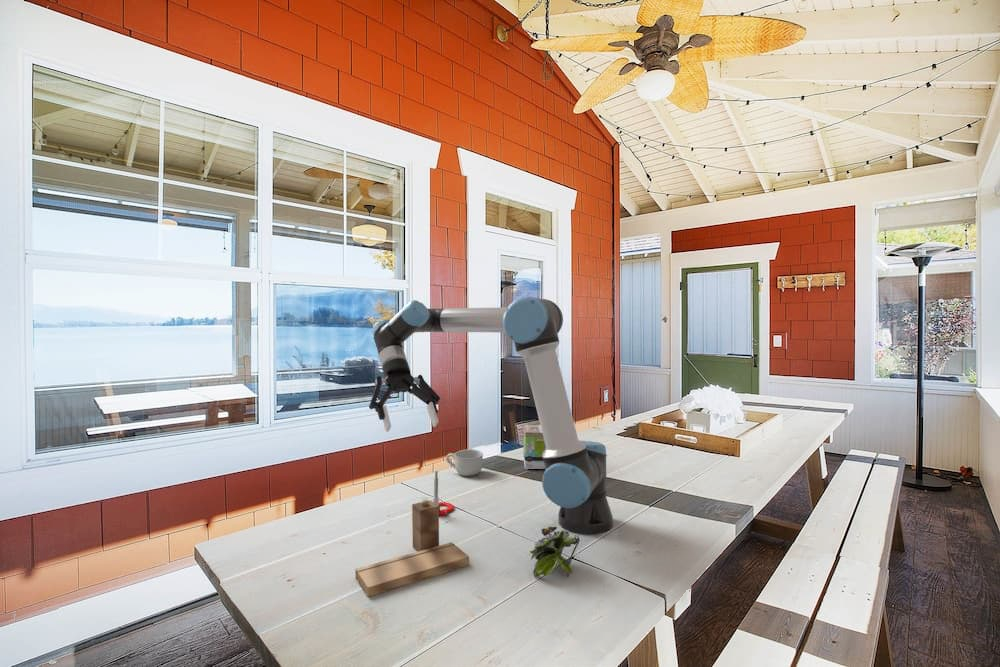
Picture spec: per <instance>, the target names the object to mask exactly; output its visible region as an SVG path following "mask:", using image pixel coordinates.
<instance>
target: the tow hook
mask: <svg viewBox="0 0 1000 667" xmlns="http://www.w3.org/2000/svg"><path fill="white" fill-rule="evenodd" d="M438 473H439V471H437V470H436V471H434V479H433V481H434V483H433V486H434V487H433V498H432V500H433V501H432V502H433V503H435V504H436V505H438V506H439V516H447V515H448V513H451V512H453V510H454V508H455V507H454V504H453V503H450V502H447V501H445V502H444V501H440V500H439V498H440V497H439V477H438ZM446 506H447V507H446ZM441 507H446V508H443V509H442V508H441Z"/></svg>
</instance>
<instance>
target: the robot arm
mask: <svg viewBox="0 0 1000 667" xmlns="http://www.w3.org/2000/svg"><path fill="white" fill-rule="evenodd" d="M563 324H564V316H563V312H562V310H561V309H560V307H559V306H558V305H557V304H556V303H555V302H554V301H552V300H549V299H546V298H538V297H534V296H527V297H520V298H517V299H516V300H513V302H511V303H510V304H509V305H508V306H507V307H461V308H460V307H458V308H457V307H456V308H455V307H451V308H450V307H449V308H428V307H427V306H426V305H425V304H424V303H423V302H420V301H419V300H416V299H414V300H413V299H412V300H411V301H410V302H408V303H407V304H405V305H404V306H403V307H402V309H400V311H398V313H396V314H395V315H394V316H393V317H392V318H391V319H389V318H385V319H382V320H380V321H377V322H376V323H375V324H374V325H373V326H372V335H373V341H374V343H375V347H376V349H377V353H378V357H379V361H380V366H381V368H382V373H383V376H384V378H382V376H379V375H378V376H377V377H376V379H375V381H374V385H375V386H374V388H375V389H374V390H373V395H372V397H371V398H370V399H371V400H370V403H369V406H368V408H369V410H373V409H374V410H375V412H376V413H377V415H378V419H379V421H382V423H383V426H384V430H385V432H386V433H388V432H389V431H390V430H391V427H392V423H391V420H390V415H389V412H388V408H387V405H385V404H386V402H387V401H388V399H389V398H390V396H391V395H392V394H393V392H395V393H397V394H398V393H409V394H411V395H414V396H415V397H416V398H418V399H419V400H420V401H421V402H423V403H424V404H426V405H427V406H426V410H427V413H428V415H429V418H430V421H431V425H432V427H433V428H436V426H437V425H438V424H439V422H440V421H439V418H438V415H437V414H438V413H439V412H438V411H439V410H438V408H437V405H438V404H439V402H440V400H441V397H440V396H439V394H438V393H436V391H435V390H434V389H433V388H432V387H431V386H430V385H429V384H428V382H426V381H425V379H424V377H423V374H418V376H415V377H414V376H413V375H412V373H411V369H410V366H409V362H408V359H407V357H406V353H405V350H404V346H403V343H404V342H406V340H408V339H409V338H410V337H411V336H412V335H413V334H415V333H503V334H504V333H505V335H506V336H507V337H508V338H509V339H510V340H511V341H513V344H514V347H515V348H514V349H515V353H516V354H517V355H519V356H520V357H522V359H523V360H524V361H523V362H524V364H525V368H526V372H527V375H528V376H527V377H528V380H529V386H530V388H531V392H532V396H533V397H532V398H533V401H534V405H535V408H536V412H537V417H538V422H539V425H540V426H541V430H542V434H543V438H544V442H545V446H546V449H545V451H544V452H543V454H542V458H543V462H544V466H545V470H544V473H543V475H542V478H541V479H542V480H541V483H542V488H543V489H542V490H543V492H544V494H545V495H546V497H547V498H548V499H549V500H550V502H551V503H554V504H555V505H556V506H558V507H560V508H559V510H558V516H557V517H558V519H557V520H558V521H559V522H558V524H559V526H560V525H561V527H562V529H565V530H566V529H567V530H566V531H570V532H572V533H576V532H577V533H576V534H584V535H597V534H602V533H605V532H607V531H610V530H611V529H612V528H613V526H614V525H613V524H614V522H613V519H614V517H613V514H612V511H611V508H610V505H609V501H608V498H607V456H608V454H607V450H606V449H607V448H606V445H604V444H603V443H602V442H597V441H591V440H579V437H578V433H577V431H576V430H577V429H576V426H575V422H574V418H573V414H572V409H571V406H570V403H569V402H570V401H569V398H568V395H567V390H566V385H565V382H564V378H563V375H562V370H561V367H560V363H559V359H558V354H557V349H558V347H559V345H560V339H559V333H560V331H561V329H562V327H563ZM383 385H386V387H388V388H387V389H386V391H385V393H384V394H383V396H381V398H380V399H379V401H378V402H377V400H378V396H379V393H380V391H381V389H382V388H381V387H383Z"/></svg>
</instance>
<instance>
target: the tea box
mask: <svg viewBox="0 0 1000 667" xmlns="http://www.w3.org/2000/svg"><path fill="white" fill-rule="evenodd" d="M545 449H546V446H545V442H544V438H543V434H542V430H541V426H540V424H524V425H523V464H524V465H523V466H524V469H525V470H528V469H544V468H545V466H544V462H543V458H542V454H543V452H544V451H545Z"/></svg>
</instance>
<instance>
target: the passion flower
mask: <svg viewBox="0 0 1000 667" xmlns="http://www.w3.org/2000/svg"><path fill="white" fill-rule="evenodd" d="M557 528H558V527H557V526H548V527H547V528H546V527H545V528H541V534H542V535H543V536H544V537H541V539H538V542H535V543H534V549H531V550H529V551H528V552H529V553H530V554H531V560H533V559H535V560H537V561H536V563H535V565H534V568H533V571H532V573H533V576H534V578H536V577H540V576H545V577H546V576H549V575H550V574H552V573H553V572H554V571H555V570H556V569H557V568H558V566H560V567H561V568H563V571H566V572H567V577H568V576H569V575H570V574H572V573H573V570H572V568H571V564H572V562H573V561H572V560H573V556H574V554H575V551H576V550H577V547H578V545H579V543H580V540H581V539H580V537H579V534H578V535H576V534H575V535H574V536H571V537H570V533H569V532H568V530H564V529H562V530H559V531H556V530H557ZM552 533H553V534H552ZM572 545H575V546H574V548H573V551H572V553H571V555H570V556H569V557H567V558H565V557H564V556H563V555H562V553H563V550H564V549H565V547H566V548H570V547H571V546H572Z"/></svg>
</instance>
